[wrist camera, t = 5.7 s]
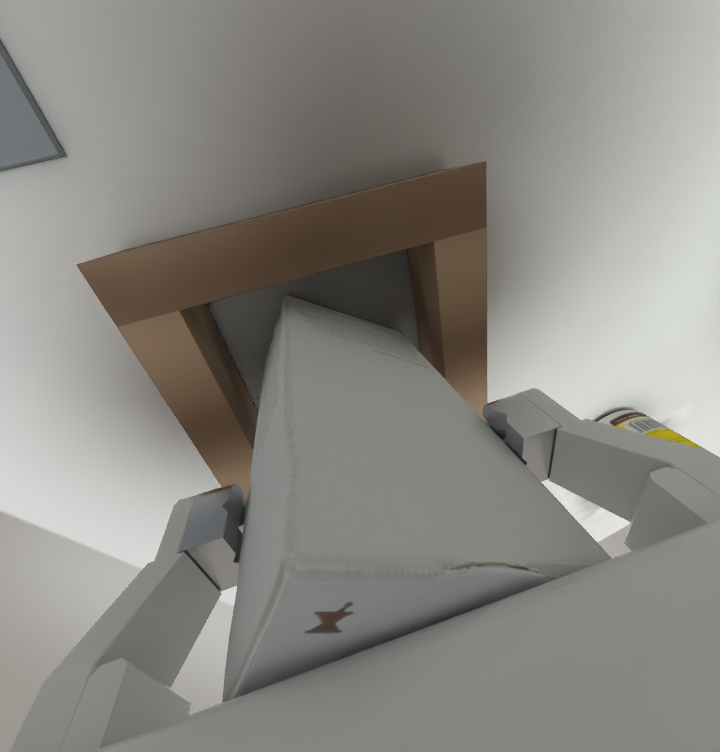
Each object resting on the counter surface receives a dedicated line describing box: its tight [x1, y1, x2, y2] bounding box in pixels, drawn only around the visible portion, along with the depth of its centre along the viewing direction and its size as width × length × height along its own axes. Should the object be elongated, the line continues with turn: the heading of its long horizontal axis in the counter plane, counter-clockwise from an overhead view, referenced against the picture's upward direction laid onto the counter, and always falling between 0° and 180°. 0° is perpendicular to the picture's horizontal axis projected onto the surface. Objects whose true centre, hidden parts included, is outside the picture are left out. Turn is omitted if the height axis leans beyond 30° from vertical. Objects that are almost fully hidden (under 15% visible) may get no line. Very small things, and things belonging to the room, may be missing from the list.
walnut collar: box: [77, 162, 487, 501], centre depth 14 cm, size 13×13×3 cm
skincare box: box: [222, 296, 612, 703], centre depth 10 cm, size 6×4×12 cm
